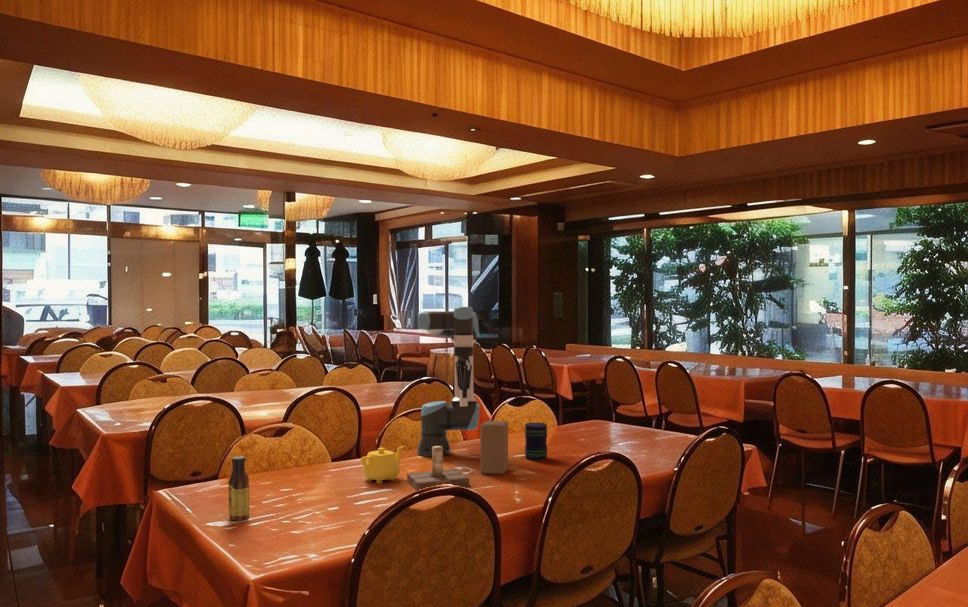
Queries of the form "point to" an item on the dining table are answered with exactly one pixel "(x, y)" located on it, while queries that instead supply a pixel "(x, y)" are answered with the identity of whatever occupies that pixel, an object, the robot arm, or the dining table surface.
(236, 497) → the sauce bottle
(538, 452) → the storage jar
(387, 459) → the teapot
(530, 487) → the dining table surface
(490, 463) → the wooden block
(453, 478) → the board
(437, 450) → the peg
